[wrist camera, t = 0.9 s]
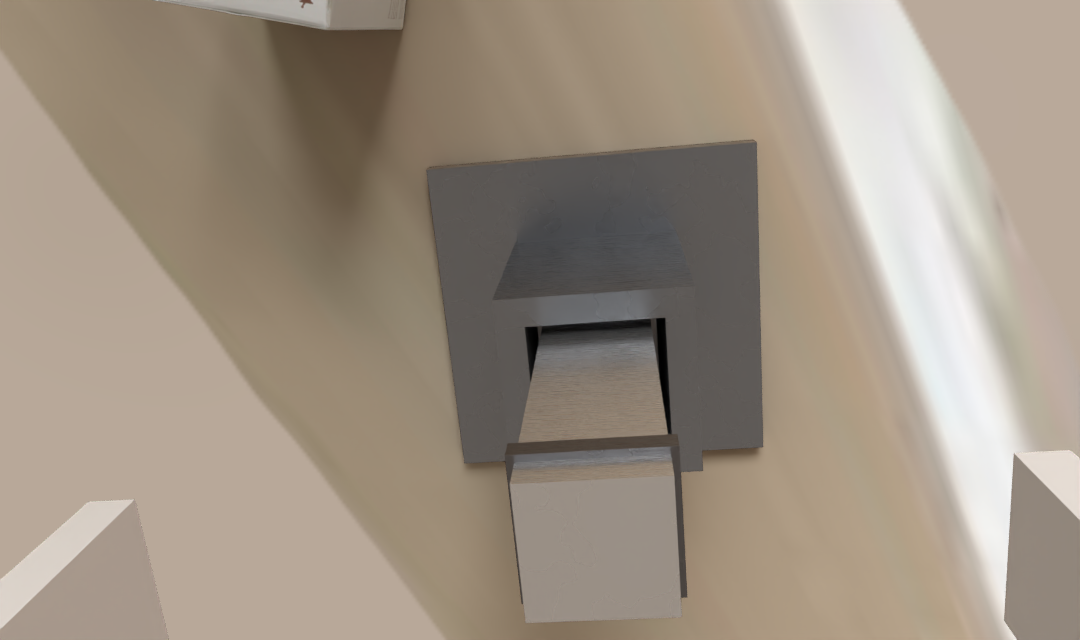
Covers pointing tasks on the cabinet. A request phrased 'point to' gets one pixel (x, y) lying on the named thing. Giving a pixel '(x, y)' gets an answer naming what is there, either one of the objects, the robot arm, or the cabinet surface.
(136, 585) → the robot arm
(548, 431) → the column
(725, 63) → the cabinet surface
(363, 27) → the supplement box
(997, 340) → the cabinet surface
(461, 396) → the stand base
